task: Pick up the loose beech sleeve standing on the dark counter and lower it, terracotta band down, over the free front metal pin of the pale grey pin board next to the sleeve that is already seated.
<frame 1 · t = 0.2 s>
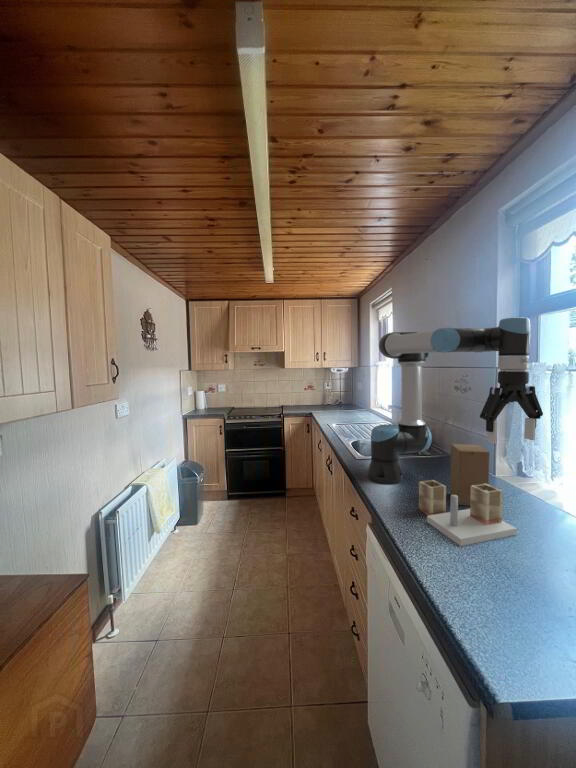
hand: (510, 441, 95), 27 cm above the counter, fingers open, 13 cm apart
wooden block: (468, 500, 117), on the counter
sleeve: (432, 512, 108), on the counter
pin board: (469, 528, 98), on the counter
sleeve seated: (485, 519, 99), point 2 cm above the counter, touching pin board
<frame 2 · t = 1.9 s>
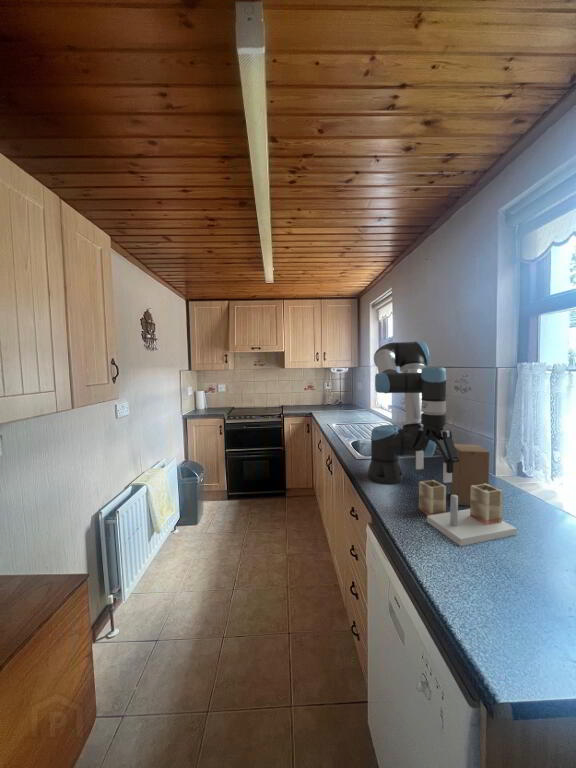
hand: (432, 475, 107), 13 cm above the counter, fingers open, 13 cm apart
nothing on the counter moved.
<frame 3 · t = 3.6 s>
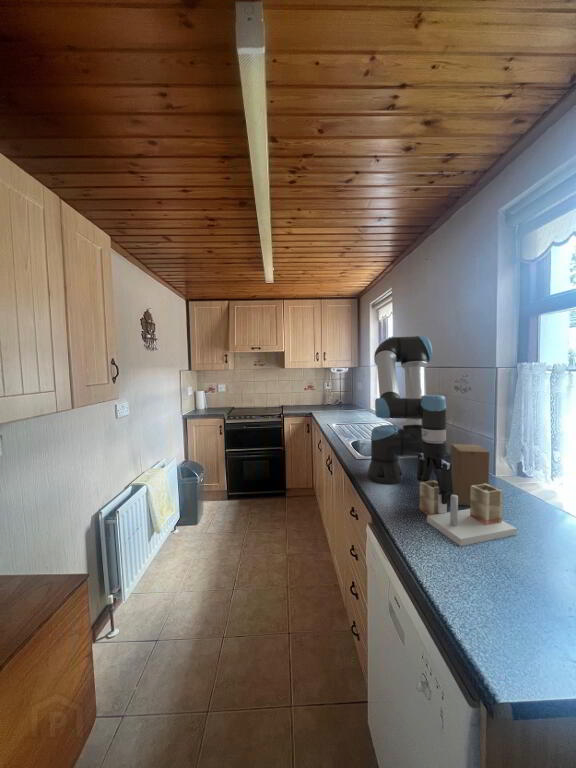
hand: (434, 507, 107), 2 cm above the counter, fingers open, 7 cm apart
sleeve: (432, 512, 108), on the counter, touching gripper
everything else where it was.
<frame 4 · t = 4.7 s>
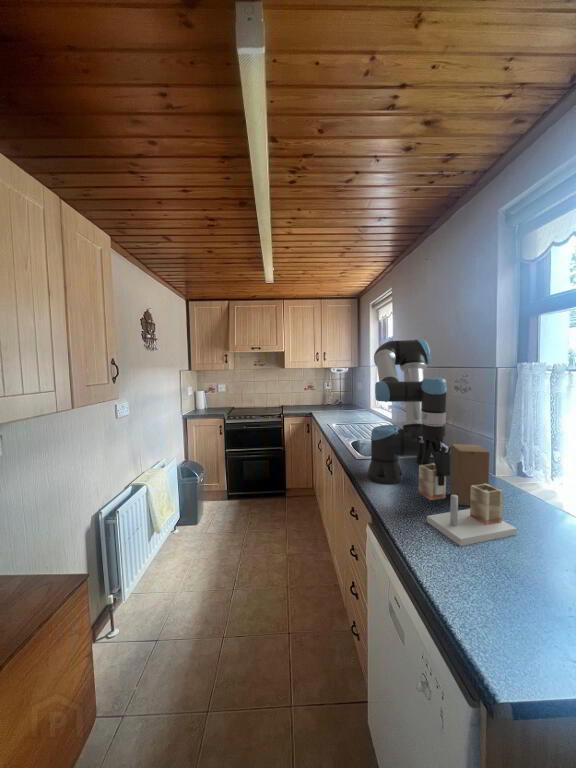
hand: (431, 489, 108), 8 cm above the counter, fingers closed on sleeve, 6 cm apart
sleeve: (431, 495, 109), point 6 cm above the counter, touching gripper
everything else where it was.
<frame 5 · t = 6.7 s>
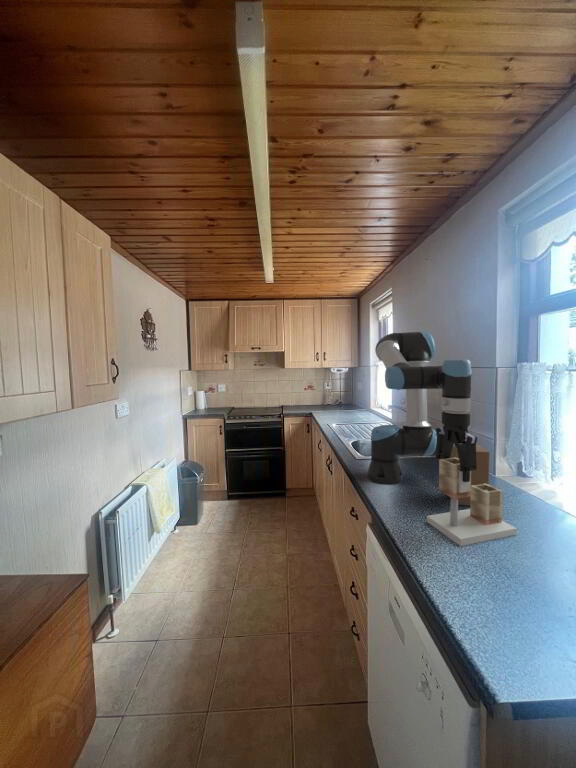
hand: (454, 487, 95), 14 cm above the counter, fingers closed on sleeve, 6 cm apart
sleeve: (454, 493, 95), point 12 cm above the counter, touching gripper
everything else where it was.
when the fingers open (5 cm above the counter, at t = 8.9 s): sleeve drops 1 cm, resting on pin board.
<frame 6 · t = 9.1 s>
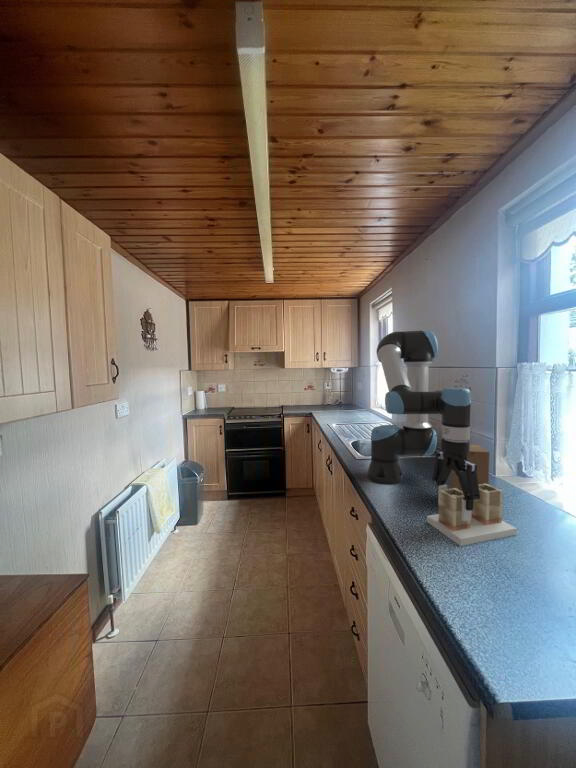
hand: (454, 512, 96), 6 cm above the counter, fingers open, 9 cm apart
sleeve: (453, 524, 96), point 2 cm above the counter, touching pin board
everything else where it was.
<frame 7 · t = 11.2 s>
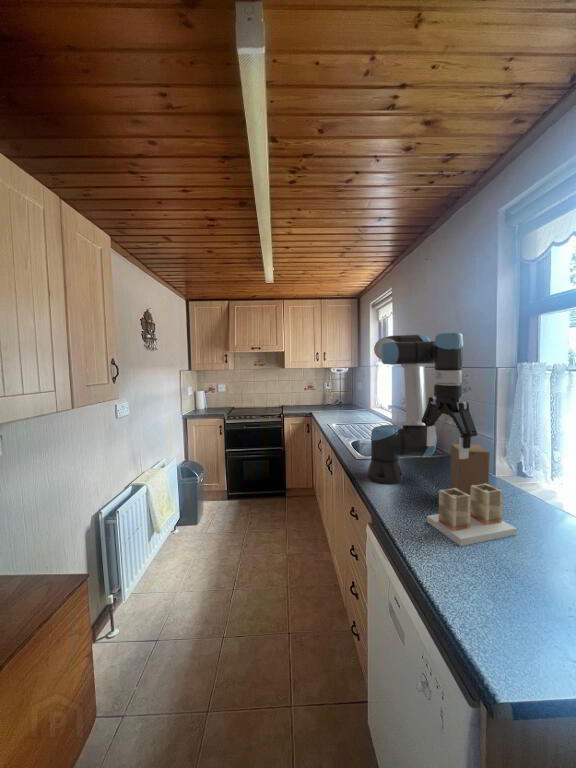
hand: (446, 451, 98), 24 cm above the counter, fingers open, 13 cm apart
nothing on the counter moved.
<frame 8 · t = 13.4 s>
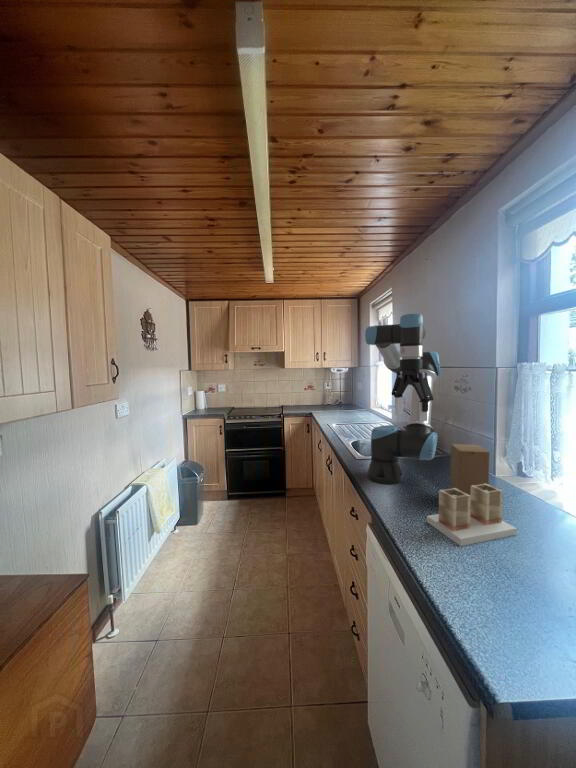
hand: (410, 417, 113), 32 cm above the counter, fingers open, 13 cm apart
nothing on the counter moved.
at the end: sleeve 0.0 cm from the target spot on the pin board, point 2.0 cm above the pin board's base; sleeve tilted 0°; the gripper is holding nothing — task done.
